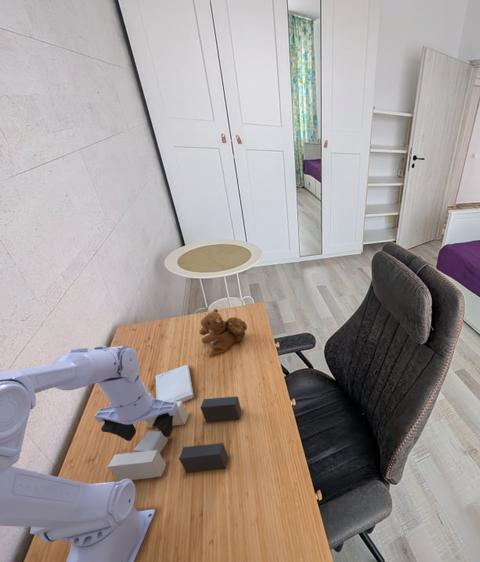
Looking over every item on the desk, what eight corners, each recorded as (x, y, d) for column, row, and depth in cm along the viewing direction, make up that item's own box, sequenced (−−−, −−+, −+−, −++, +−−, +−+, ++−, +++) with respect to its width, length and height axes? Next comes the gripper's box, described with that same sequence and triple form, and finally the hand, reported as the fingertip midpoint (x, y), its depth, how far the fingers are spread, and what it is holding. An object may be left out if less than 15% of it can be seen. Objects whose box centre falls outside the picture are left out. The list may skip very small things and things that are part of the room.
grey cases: (225, 468, 63) (219, 454, 60) (186, 473, 61) (178, 458, 58) (241, 410, 75) (237, 396, 72) (209, 413, 74) (203, 398, 71)
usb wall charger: (138, 459, 63) (131, 449, 61) (159, 430, 69) (154, 420, 67) (156, 460, 63) (150, 451, 61) (175, 431, 69) (170, 421, 67)
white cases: (161, 476, 61) (151, 461, 58) (119, 481, 59) (107, 466, 56) (188, 415, 73) (182, 400, 70) (154, 418, 72) (146, 403, 69)
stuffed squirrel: (203, 339, 97) (193, 308, 90) (247, 328, 103) (241, 298, 97) (204, 358, 90) (193, 326, 83) (251, 345, 96) (245, 314, 89)
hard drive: (154, 375, 81) (156, 407, 72) (187, 364, 85) (192, 393, 77) (156, 379, 82) (158, 412, 73) (189, 368, 86) (194, 397, 77)
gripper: (176, 376, 62) (192, 415, 68) (101, 382, 59) (125, 421, 66) (160, 404, 56) (180, 444, 62) (75, 412, 53) (105, 452, 60)
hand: (150, 434), depth 64 cm, fingers open, 7 cm apart
